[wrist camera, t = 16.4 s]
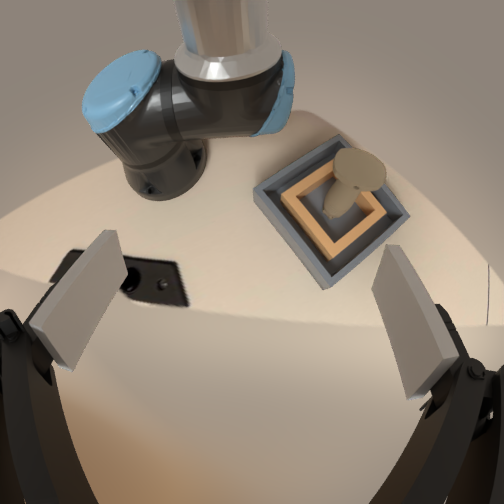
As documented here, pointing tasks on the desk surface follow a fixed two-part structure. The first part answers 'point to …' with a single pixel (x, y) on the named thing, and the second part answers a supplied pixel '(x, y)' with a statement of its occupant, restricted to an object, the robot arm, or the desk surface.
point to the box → (317, 223)
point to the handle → (352, 179)
